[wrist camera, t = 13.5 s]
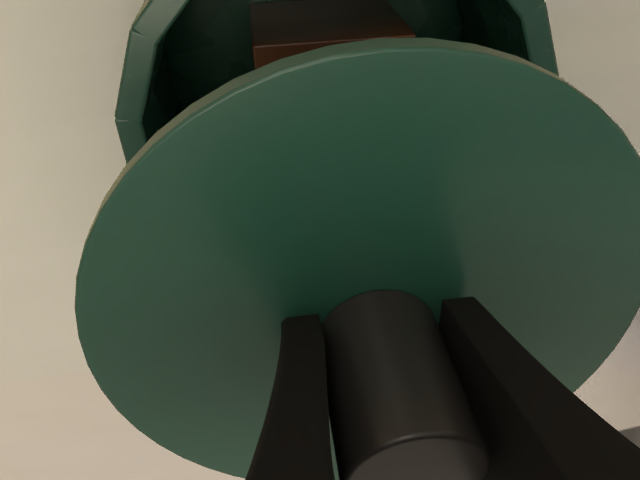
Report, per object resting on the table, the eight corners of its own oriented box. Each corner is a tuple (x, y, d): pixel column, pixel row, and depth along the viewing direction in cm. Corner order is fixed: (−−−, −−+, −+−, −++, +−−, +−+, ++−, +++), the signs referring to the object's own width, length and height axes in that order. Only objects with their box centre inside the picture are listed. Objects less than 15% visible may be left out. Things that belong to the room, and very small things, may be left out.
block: (382, -6, 17) (417, 34, 13) (378, 118, 19) (406, 177, 16) (248, 3, 16) (252, 45, 13) (261, 128, 19) (267, 190, 16)
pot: (454, 184, 21) (514, 282, 17) (183, 209, 21) (168, 319, 16) (497, -140, 15) (611, -126, 11) (112, -123, 14) (53, -100, 10)
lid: (559, 420, 16) (647, 582, 12) (156, 473, 15) (133, 663, 12) (714, -1, 9) (1005, 103, 6) (-10, 53, 8) (-186, 216, 5)
